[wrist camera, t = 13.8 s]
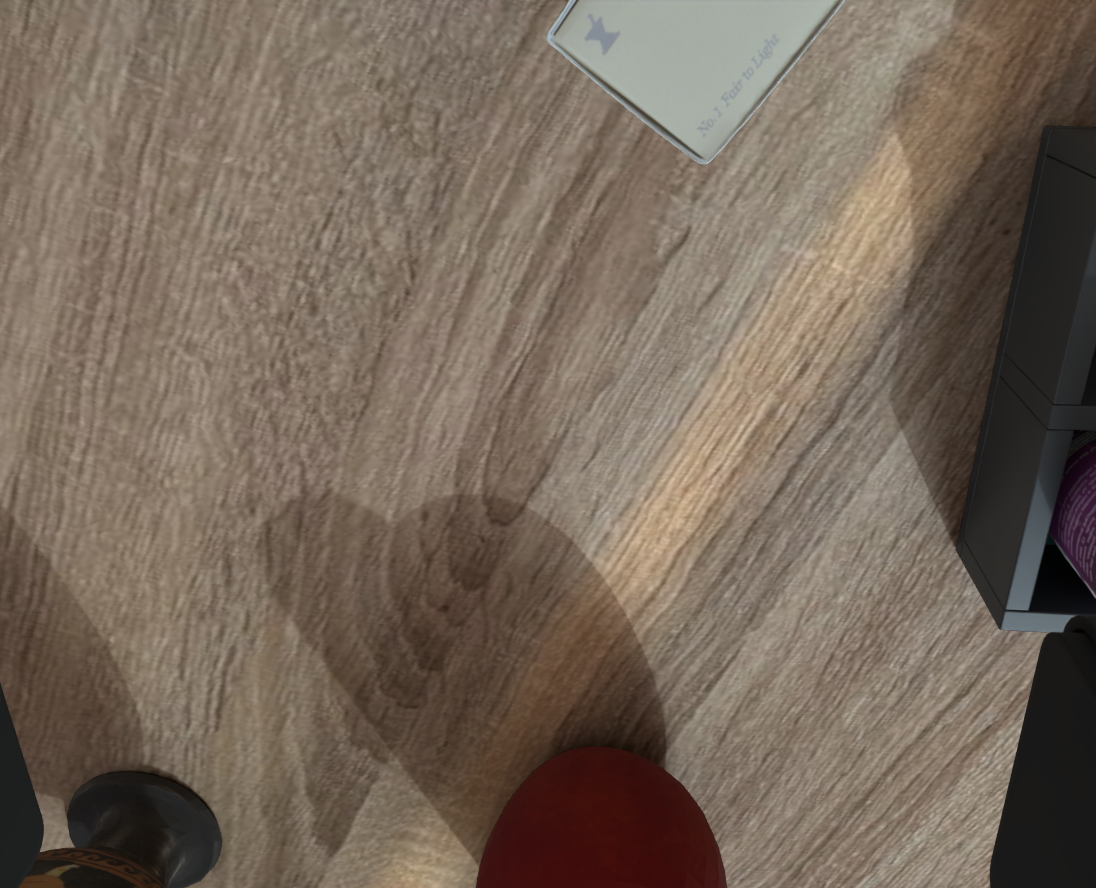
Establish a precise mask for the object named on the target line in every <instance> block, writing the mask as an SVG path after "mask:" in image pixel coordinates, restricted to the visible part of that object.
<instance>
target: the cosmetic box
mask: <svg viewBox="0 0 1096 888" xmlns="http://www.w3.org/2000/svg"><path fill="white" fill-rule="evenodd" d="M844 2H845V0H568V2H567V3H566V5H565V7H564V8H563V10H562V11H561V13H560V14H559V15H558V17H557V18H556V20H555V21H554V23H553V24H552V26H551V27H550V28H549V30H548V31H547V33H546V41H547V42H548V43H549V44H550V45H551V46H553V47H554V48H555V49H556V50H558V51H559V52H560V53H561V54H562V55H564V56H565V57H566V58H567V59H568V60H569V61H571V62H572V63H573V64H574V65H575V66H576V67H577V68H579V69H580V70H581V71H582V72H583V73H585V74H586V75H587V76H588V77H589V78H590V79H592V80H593V81H594V82H595V83H596V84H598V85H599V86H600V87H601V88H602V89H604V90H605V91H606V92H607V93H608V94H610V95H611V96H612V97H613V98H615V99H616V100H617V101H618V102H619V103H621V104H622V105H623V106H624V107H626V108H627V109H628V110H629V111H631V112H632V113H633V114H634V115H636V116H637V117H638V118H639V119H641V120H642V121H643V122H644V123H646V124H647V125H648V126H649V127H651V128H652V129H653V130H655V131H656V132H657V133H658V134H660V135H661V136H662V137H664V138H665V139H666V140H668V141H669V142H670V143H672V144H673V145H674V146H676V147H677V148H678V149H680V150H681V151H682V152H684V153H685V154H686V155H688V156H689V157H690V158H692V159H693V160H694V161H696V162H698V163H700V164H708V163H709V162H710V161H711V160H712V159H713V158H714V157H715V156H716V155H717V154H718V153H719V152H720V151H721V150H722V149H723V148H724V146H725V145H726V144H727V143H728V142H729V141H730V140H731V139H732V137H733V136H734V135H735V134H736V133H737V132H738V130H739V129H740V128H741V127H742V126H743V125H744V124H745V123H746V122H747V121H748V119H749V118H750V117H751V116H752V114H753V113H754V112H755V111H756V110H757V108H758V107H759V106H760V105H761V104H762V103H763V102H764V100H765V99H766V98H767V97H768V96H769V94H770V93H771V92H772V91H773V89H774V88H775V87H776V86H777V85H778V84H779V82H780V81H781V80H782V79H783V78H784V76H785V75H786V74H787V73H788V72H789V70H790V69H791V68H792V67H793V65H794V64H795V63H796V62H797V61H798V59H799V58H800V57H801V56H802V54H803V53H804V52H805V50H806V49H807V48H808V47H809V46H810V44H811V43H812V42H813V41H814V39H815V38H816V37H817V36H818V34H819V33H820V32H821V31H822V29H823V28H824V27H825V26H826V24H827V23H828V22H829V21H830V19H831V18H832V17H833V16H834V14H835V13H836V12H837V11H838V9H839V8H840V7H841V6H842V4H843V3H844Z"/></svg>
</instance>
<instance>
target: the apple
mask: <svg viewBox="0 0 1096 888" xmlns="http://www.w3.org/2000/svg"><path fill="white" fill-rule="evenodd" d="M476 888H727V884H726V876H725V870H724V866H723V862H722V858H721V854H720V851H719V847H718V845H717V842H716V840H715V838H714V835H713V833H712V831H711V828H710V826H709V824H708V822H707V819H706V817H705V815H704V813H703V811H702V810H701V808H700V807H699V806H698V804H697V803H696V801H695V800H694V799H693V797H692V796H691V795H690V794H689V792H688V791H687V790H686V788H685V787H684V786H683V785H682V784H681V783H680V782H679V781H678V780H676V779H675V778H674V777H673V776H672V775H670V774H669V773H668V772H667V771H665V770H664V769H663V768H662V767H660V766H659V765H657V764H655V763H654V762H652V761H650V760H648V759H647V758H644V757H642V756H639V755H636V754H634V753H631V752H628V751H625V750H621V749H616V748H612V747H602V746H589V747H579V748H575V749H572V750H568V751H565V752H563V753H561V754H559V755H556V756H554V757H553V758H551V759H549V760H548V761H546V762H545V763H543V764H542V765H541V766H539V767H538V768H537V769H535V770H534V771H533V772H532V773H531V774H530V775H529V776H528V778H527V779H526V780H525V781H524V782H523V783H522V784H521V786H520V787H519V788H518V789H517V790H516V791H515V793H514V794H513V795H512V796H511V798H510V800H509V801H508V803H507V804H506V806H505V808H504V809H503V811H502V813H501V815H500V817H499V818H498V820H497V822H496V824H495V826H494V828H493V830H492V832H491V835H490V837H489V839H488V841H487V843H486V846H485V850H484V853H483V856H482V859H481V862H480V867H479V872H478V877H477V884H476Z"/></svg>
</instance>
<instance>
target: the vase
mask: <svg viewBox="0 0 1096 888" xmlns="http://www.w3.org/2000/svg"><path fill="white" fill-rule="evenodd" d="M67 819H68V829H69V835H70V838H71V840H72V842H73V844H74V846H75V848H61V849H54V850H48V851H44V852H40V853H39V855H38V857H37V859H36V861H35V863H34V865H33V866H32V868H31V869H30V871H29V872H28V874H27V875H26V877H25V879H24V880H23V882H22V883H21V885H20V886H19V888H185V887H188V886H190V885H192V884H194V883H197V882H199V881H201V880H202V879H203V878H204V877H205V876H206V874H207V873H208V872H209V871H210V870H211V869H212V868H213V867H214V866H215V864H216V862H217V861H218V858H219V856H220V852H221V847H222V838H221V833H220V830H219V827H218V825H217V822H216V820H215V818H214V816H213V815H212V813H211V812H210V811H209V809H208V808H207V807H206V806H205V805H204V803H203V802H201V801H200V800H199V799H198V798H197V797H196V796H194V795H193V794H192V793H191V792H189V791H188V790H186V789H185V788H183V787H182V786H180V785H179V784H177V783H174V782H172V781H170V780H167V779H164V778H161V777H158V776H154V775H151V774H144V773H136V772H120V773H110V774H106V775H102V776H97V777H95V778H93V779H92V780H90V781H88V782H87V783H85V784H84V785H82V786H81V787H80V788H79V789H78V790H77V791H76V793H75V794H74V796H73V798H72V800H71V802H70V804H69V810H68V813H67Z"/></svg>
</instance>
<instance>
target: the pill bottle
mask: <svg viewBox="0 0 1096 888" xmlns="http://www.w3.org/2000/svg"><path fill="white" fill-rule="evenodd" d="M1073 431H1074V433H1073V437H1072V441H1071V445H1070V449H1069V453H1068V457H1067V461H1066V465H1065V469H1064V473H1063V477H1062V481H1061V485H1060V489H1059V493H1058V497H1057V500H1056V504H1055V508H1054V512H1053V516H1052V520H1051V524H1050V528H1049V532H1048V534H1049V535H1050V537H1051V538H1052V539H1053V541H1054V542H1055V544H1056V545H1057V546H1058V548H1059V549H1060V551H1061V553H1062V554H1063V555H1064V557H1065V558H1066V560H1067V561H1068V562H1069V563H1070V565H1071V566H1072V567H1073V568H1074V570H1075V571H1076V572H1077V574H1078V575H1079V577H1080V578H1081V579H1082V580H1083V582H1084V583H1085V584H1086V586H1087V587H1088V588H1089V590H1090V591H1091V593H1092V594H1093V595H1094V597H1095V598H1096V431H1086V430H1073Z"/></svg>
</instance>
